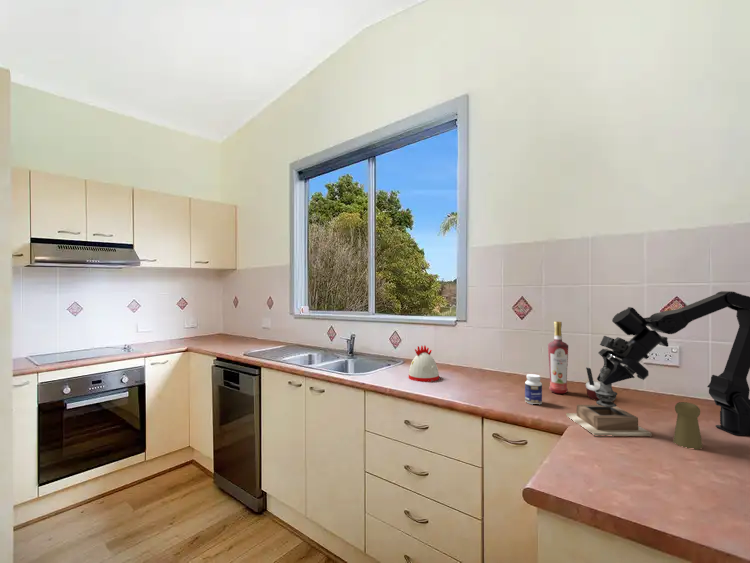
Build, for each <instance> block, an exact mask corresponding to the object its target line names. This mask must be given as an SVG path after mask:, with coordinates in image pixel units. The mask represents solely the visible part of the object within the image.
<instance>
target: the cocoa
mask: <svg viewBox="0 0 750 563" xmlns="http://www.w3.org/2000/svg"><path fill="white" fill-rule="evenodd" d="M585 370H586V372H587V378H588V380H587V382H586V383H585V389H586V394H587V396H588V398H590V399H591V400H594V399H595V401H599V400H600V399H599V398H598V397H597V395H596V392H595V390H598V389H599V388H600V382H599V381H598V380H594V377H593V374H592V369H591V368H590V367H586V368H585Z"/></svg>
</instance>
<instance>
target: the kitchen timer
mask: <svg viewBox="0 0 750 563" xmlns="http://www.w3.org/2000/svg"><path fill="white" fill-rule="evenodd" d="M429 349H430V348H429V347H427V346H426V345H425V344H424V346H423V345H421V347H420V346H417V349H416V348H414V351H415V354H416V355H415V356H414V358H413V359H412V361H411V363H410V366H409V369H408V379H409V380H411V381H415V382H420V383H422V382H424V383H428V382H435V381H438V380H439V379H440V374H439V373H440V372H439V368H438V365H437V363H436V361H435V359H434V358H433V356H432V355H431V353H432V351H433V350H432V349H430V350H429Z"/></svg>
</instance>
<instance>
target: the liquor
mask: <svg viewBox="0 0 750 563" xmlns="http://www.w3.org/2000/svg"><path fill="white" fill-rule="evenodd" d="M553 327H554V336H553V340H552V341H551V342H549V343H547V349H548V350H547V352H548V355H547V356H548V367H549V387H548V389H549V390H550V391H551V392H552V393H554V394H557V395H564V394H566V393H567V392H568V391H569V389H568V363H569V344H567V343H566V342H564V341H563V335H562V327H563V326H562V321H553Z"/></svg>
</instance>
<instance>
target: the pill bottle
mask: <svg viewBox="0 0 750 563" xmlns="http://www.w3.org/2000/svg"><path fill="white" fill-rule="evenodd" d="M524 402H525V403H526V402H527V403H526V404H529V405H533V404H539V405H542V404H543V383H542V382H541V375H539V374H535V373H527V374H526V381H525V382H524Z"/></svg>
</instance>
